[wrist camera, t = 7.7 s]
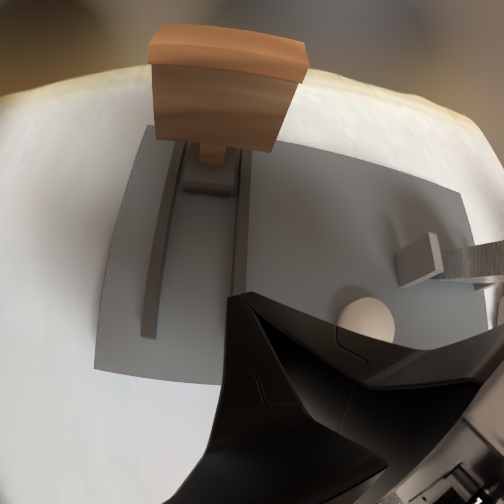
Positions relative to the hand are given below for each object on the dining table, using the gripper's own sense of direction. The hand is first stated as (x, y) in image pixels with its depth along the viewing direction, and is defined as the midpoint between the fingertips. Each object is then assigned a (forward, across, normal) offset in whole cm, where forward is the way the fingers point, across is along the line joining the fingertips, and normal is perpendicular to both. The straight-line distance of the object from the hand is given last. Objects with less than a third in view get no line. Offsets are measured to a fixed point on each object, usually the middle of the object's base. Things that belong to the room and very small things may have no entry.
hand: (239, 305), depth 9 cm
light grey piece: (+2, -17, +4) cm, 17 cm away
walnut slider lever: (+10, -2, -3) cm, 11 cm away
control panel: (+7, -9, +4) cm, 12 cm away
